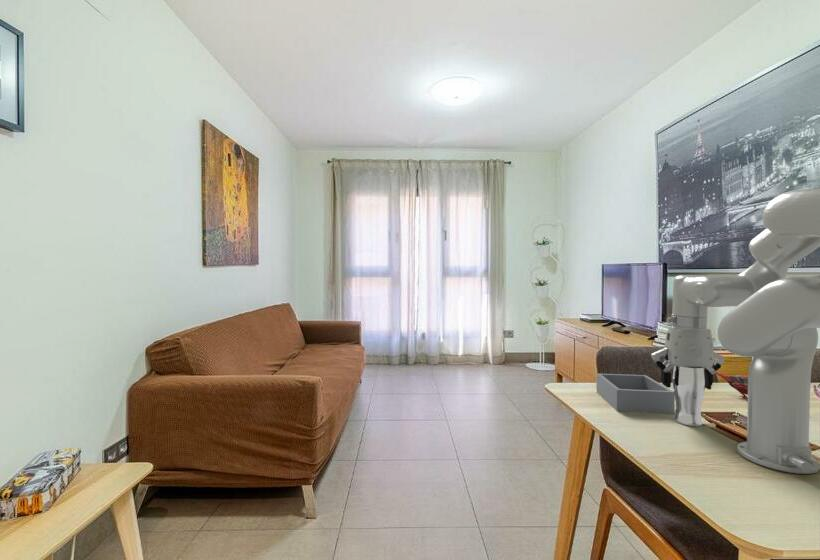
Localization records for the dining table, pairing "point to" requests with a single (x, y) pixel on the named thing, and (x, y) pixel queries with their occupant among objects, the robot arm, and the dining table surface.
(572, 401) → the dining table surface
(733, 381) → the decorative bird figurine
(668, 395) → the box
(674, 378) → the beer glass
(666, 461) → the dining table surface
